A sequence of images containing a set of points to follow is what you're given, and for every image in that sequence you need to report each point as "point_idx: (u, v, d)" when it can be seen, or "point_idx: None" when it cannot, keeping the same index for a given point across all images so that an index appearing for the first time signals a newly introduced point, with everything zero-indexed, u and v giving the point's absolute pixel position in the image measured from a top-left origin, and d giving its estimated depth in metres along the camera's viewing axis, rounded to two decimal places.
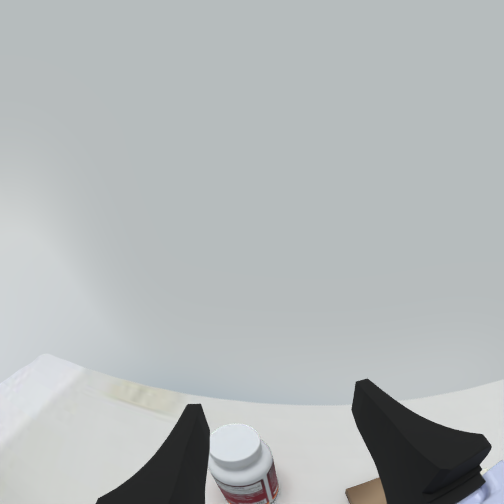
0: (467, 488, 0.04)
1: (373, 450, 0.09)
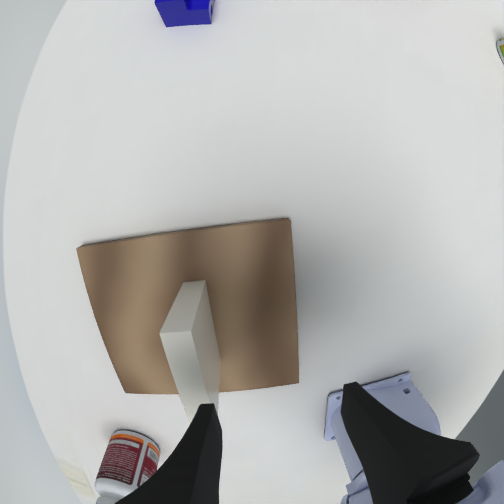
0: (454, 496, 0.04)
1: (361, 454, 0.09)
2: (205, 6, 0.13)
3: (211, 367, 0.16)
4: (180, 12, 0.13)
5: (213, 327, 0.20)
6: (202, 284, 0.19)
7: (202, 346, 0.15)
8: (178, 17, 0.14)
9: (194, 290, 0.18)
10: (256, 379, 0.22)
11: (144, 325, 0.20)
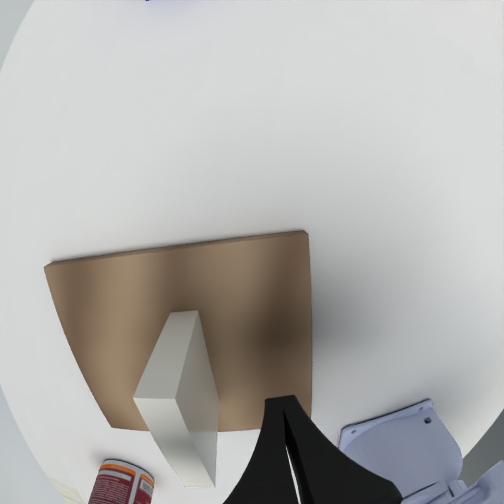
0: None
1: (294, 469, 0.09)
2: None
3: (206, 421, 0.12)
4: None
5: (209, 366, 0.16)
6: (194, 317, 0.14)
7: (193, 404, 0.10)
8: None
9: (183, 326, 0.13)
10: (261, 419, 0.17)
11: (127, 359, 0.16)
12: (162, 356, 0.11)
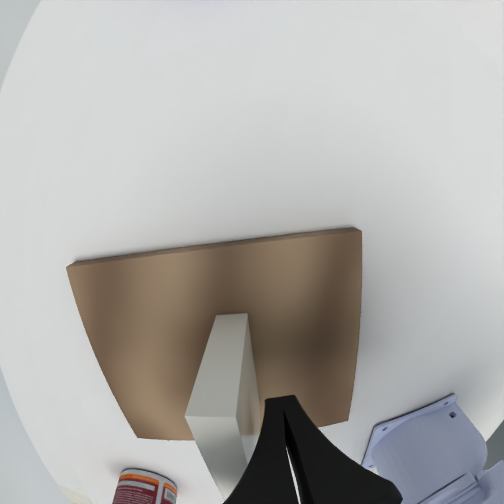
0: None
1: (294, 469, 0.09)
2: None
3: (254, 432, 0.11)
4: None
5: (254, 371, 0.15)
6: (243, 320, 0.13)
7: (246, 417, 0.09)
8: None
9: (233, 331, 0.12)
10: None
11: (162, 367, 0.15)
12: (214, 366, 0.10)
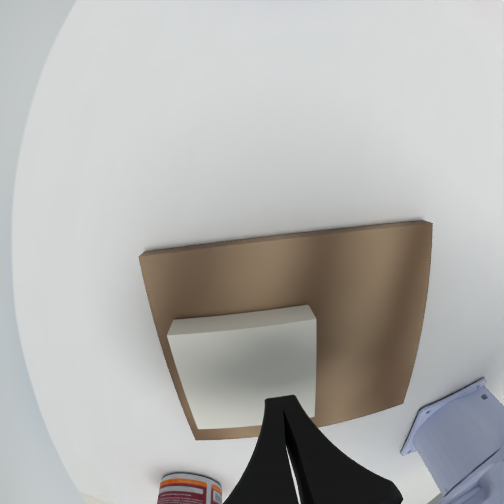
0: None
1: (294, 469, 0.09)
2: None
3: (237, 397, 0.14)
4: None
5: (309, 378, 0.13)
6: (298, 320, 0.13)
7: (209, 366, 0.13)
8: None
9: (276, 318, 0.13)
10: (364, 407, 0.17)
11: None
12: (223, 320, 0.13)
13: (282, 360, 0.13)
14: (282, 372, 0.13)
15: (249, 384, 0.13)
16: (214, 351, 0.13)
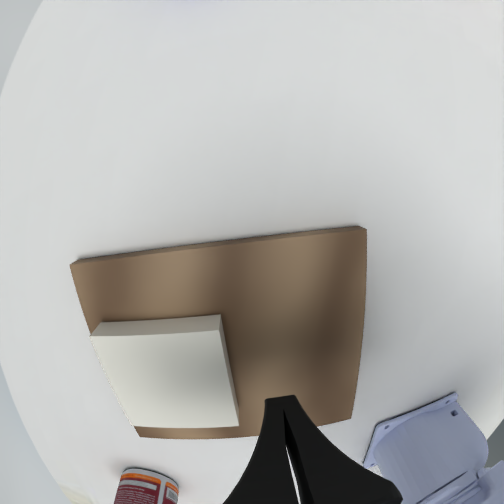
0: None
1: (294, 469, 0.09)
2: None
3: (157, 399, 0.13)
4: None
5: (224, 387, 0.13)
6: (201, 330, 0.13)
7: (128, 367, 0.13)
8: None
9: (183, 327, 0.13)
10: None
11: None
12: (138, 325, 0.13)
13: (192, 368, 0.13)
14: (194, 379, 0.13)
15: (166, 387, 0.13)
16: (129, 353, 0.13)
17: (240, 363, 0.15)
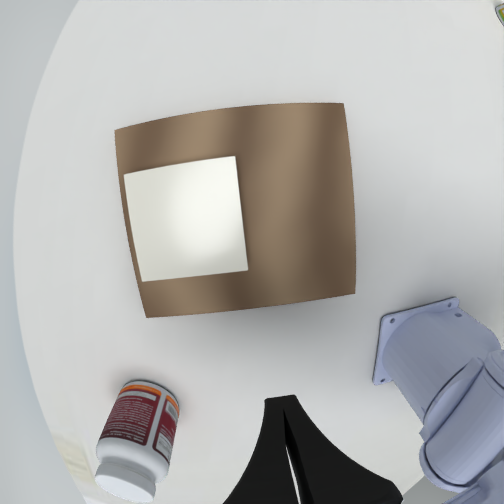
0: None
1: (294, 469, 0.09)
2: None
3: (174, 236, 0.17)
4: None
5: (236, 217, 0.17)
6: None
7: (152, 201, 0.16)
8: None
9: None
10: (309, 286, 0.20)
11: None
12: None
13: (210, 194, 0.16)
14: (211, 207, 0.16)
15: (184, 220, 0.17)
16: (156, 185, 0.16)
17: (250, 208, 0.18)
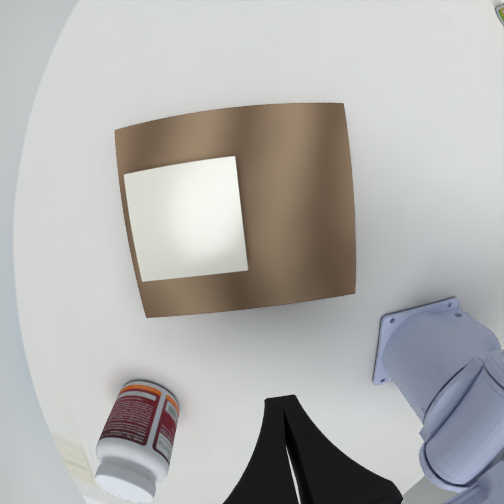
0: None
1: (294, 469, 0.09)
2: None
3: (174, 236, 0.17)
4: None
5: (236, 217, 0.17)
6: None
7: (152, 201, 0.16)
8: None
9: None
10: (309, 286, 0.20)
11: None
12: None
13: (210, 194, 0.16)
14: (211, 207, 0.16)
15: (184, 220, 0.17)
16: (156, 185, 0.16)
17: (250, 208, 0.18)
